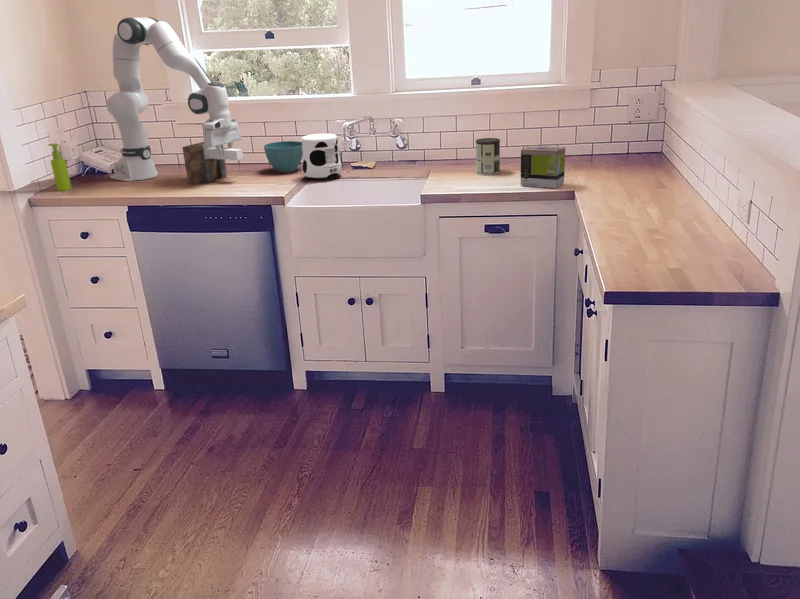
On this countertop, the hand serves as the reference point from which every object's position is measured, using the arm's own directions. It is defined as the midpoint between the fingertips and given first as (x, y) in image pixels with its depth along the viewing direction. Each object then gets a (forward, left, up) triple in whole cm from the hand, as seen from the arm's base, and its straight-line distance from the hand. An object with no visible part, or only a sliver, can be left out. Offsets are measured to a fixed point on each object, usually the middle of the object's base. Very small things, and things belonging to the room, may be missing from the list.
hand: (225, 154), depth 307 cm
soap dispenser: (-63, -37, -12) cm, 74 cm away
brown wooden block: (-11, 0, -12) cm, 16 cm away
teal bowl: (+13, +25, -12) cm, 31 cm away
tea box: (+133, +33, -12) cm, 138 cm away
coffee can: (+104, +48, -12) cm, 115 cm away
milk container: (+38, +18, -12) cm, 44 cm away
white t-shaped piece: (0, 0, -2) cm, 2 cm away
